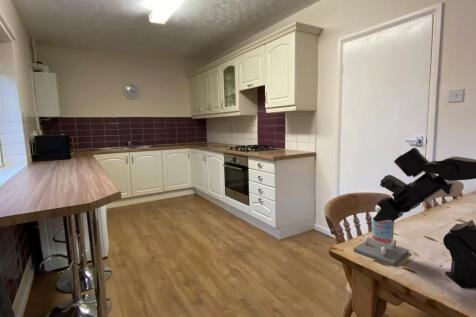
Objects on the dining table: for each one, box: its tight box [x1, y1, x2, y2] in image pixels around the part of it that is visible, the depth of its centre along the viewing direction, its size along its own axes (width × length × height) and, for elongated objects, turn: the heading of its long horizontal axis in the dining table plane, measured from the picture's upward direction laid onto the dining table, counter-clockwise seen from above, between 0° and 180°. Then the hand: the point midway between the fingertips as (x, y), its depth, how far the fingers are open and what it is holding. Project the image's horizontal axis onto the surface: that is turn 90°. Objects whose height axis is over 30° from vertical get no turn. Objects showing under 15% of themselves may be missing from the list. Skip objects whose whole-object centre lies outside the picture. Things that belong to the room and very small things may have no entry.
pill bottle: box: [371, 204, 395, 245], centre depth 85 cm, size 6×6×11 cm
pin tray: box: [352, 235, 410, 267], centre depth 87 cm, size 12×12×4 cm
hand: (378, 217), depth 86 cm, fingers closed on pill bottle, 6 cm apart
